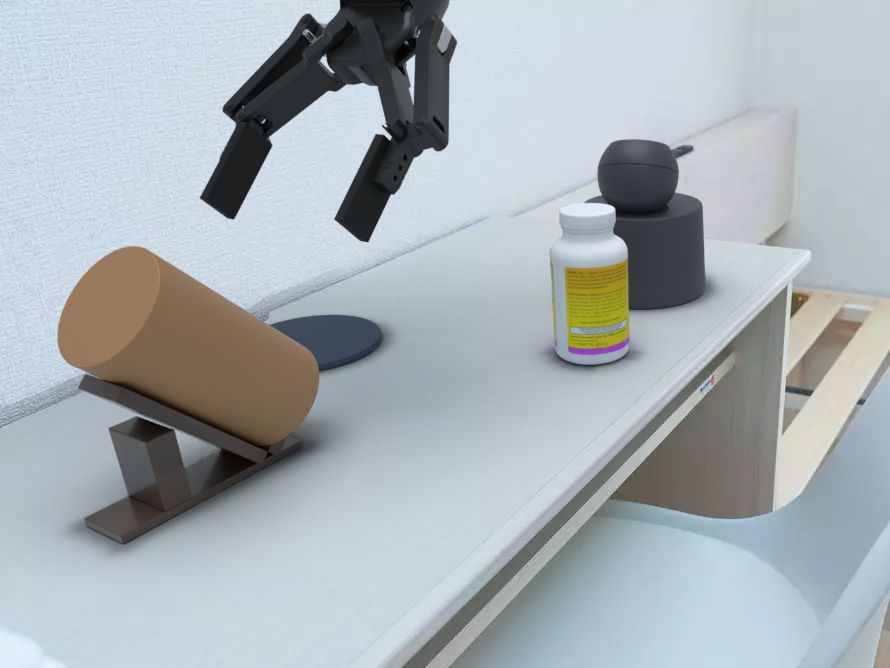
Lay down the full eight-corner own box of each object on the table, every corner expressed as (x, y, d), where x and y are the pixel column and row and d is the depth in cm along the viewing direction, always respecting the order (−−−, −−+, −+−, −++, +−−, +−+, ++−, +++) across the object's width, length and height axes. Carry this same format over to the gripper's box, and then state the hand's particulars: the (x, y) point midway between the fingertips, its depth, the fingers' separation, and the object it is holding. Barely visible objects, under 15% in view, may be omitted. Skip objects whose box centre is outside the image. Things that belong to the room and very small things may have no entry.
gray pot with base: (718, 121, 93) (699, 146, 81) (713, 268, 100) (696, 312, 88) (594, 120, 96) (557, 144, 84) (598, 263, 103) (564, 305, 91)
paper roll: (82, 494, 58) (7, 262, 51) (275, 402, 69) (234, 203, 63) (157, 529, 54) (86, 283, 47) (348, 425, 65) (313, 216, 59)
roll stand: (85, 525, 56) (41, 390, 52) (269, 433, 67) (244, 314, 63) (123, 544, 54) (79, 404, 50) (306, 445, 65) (282, 324, 61)
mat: (205, 356, 81) (203, 350, 81) (315, 312, 91) (314, 306, 91) (303, 385, 75) (302, 378, 74) (410, 334, 84) (410, 328, 84)
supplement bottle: (644, 355, 78) (643, 210, 73) (581, 374, 75) (575, 223, 70) (601, 333, 84) (597, 195, 78) (540, 349, 80) (532, 207, 75)
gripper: (566, 9, 63) (449, 271, 58) (320, 10, 75) (206, 227, 71) (516, -77, 57) (380, 208, 52) (257, -61, 69) (127, 172, 64)
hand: (280, 220), depth 61 cm, fingers open, 13 cm apart
